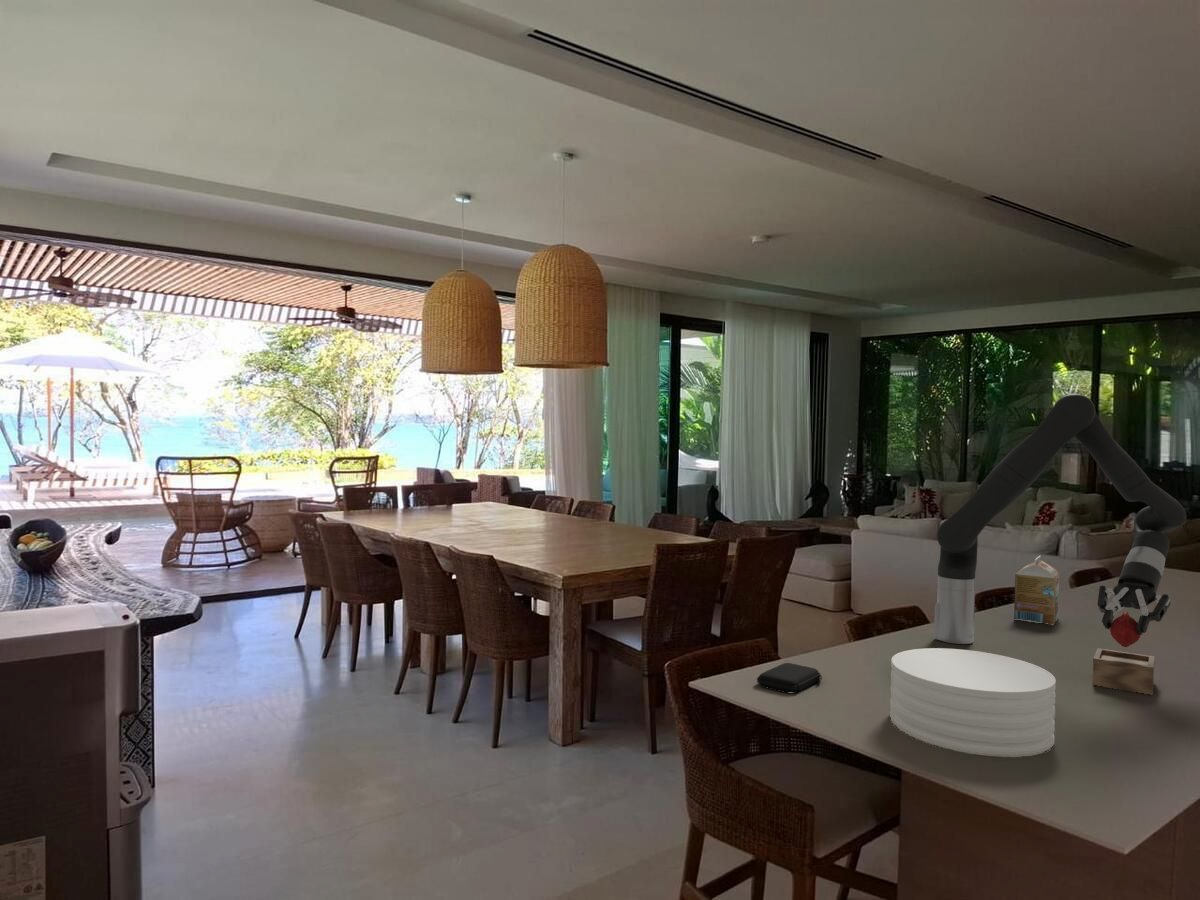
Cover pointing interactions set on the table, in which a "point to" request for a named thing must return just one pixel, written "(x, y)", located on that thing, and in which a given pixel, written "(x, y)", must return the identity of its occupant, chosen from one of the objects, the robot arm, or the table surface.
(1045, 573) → the milk carton
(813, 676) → the carrying case or bag
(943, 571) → the robot arm
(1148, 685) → the wooden tray
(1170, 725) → the table surface
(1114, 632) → the onion
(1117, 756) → the table surface
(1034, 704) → the plate stack
